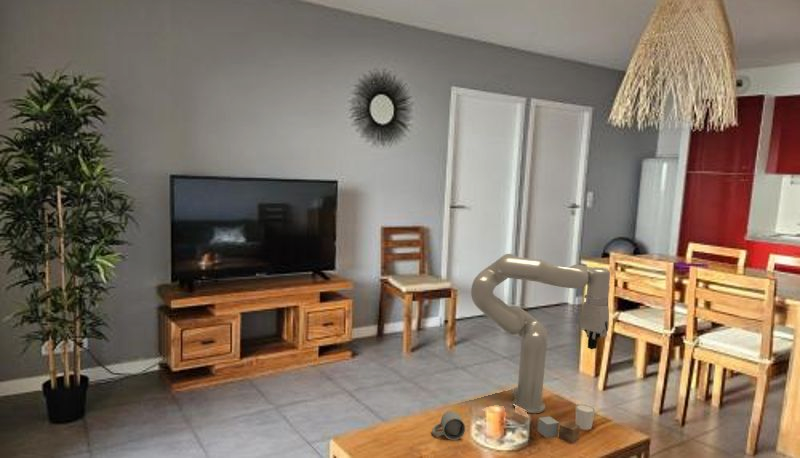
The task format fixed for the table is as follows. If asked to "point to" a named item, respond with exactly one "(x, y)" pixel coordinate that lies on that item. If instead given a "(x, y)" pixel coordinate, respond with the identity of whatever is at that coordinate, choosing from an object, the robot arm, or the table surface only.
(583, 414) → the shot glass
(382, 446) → the table surface
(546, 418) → the slate block
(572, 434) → the walnut block
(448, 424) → the ceramic mug
